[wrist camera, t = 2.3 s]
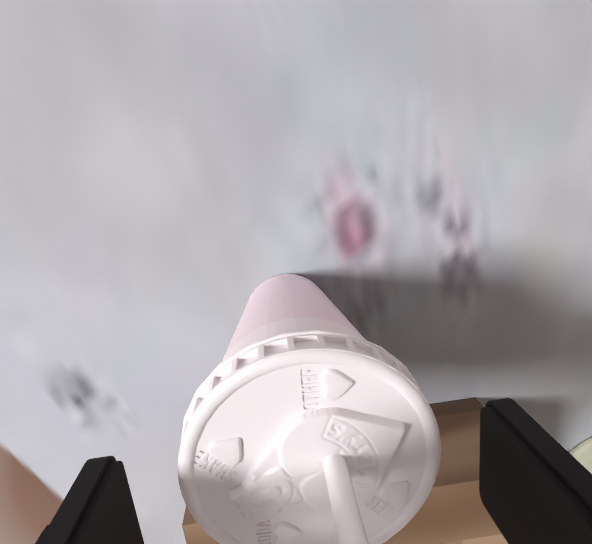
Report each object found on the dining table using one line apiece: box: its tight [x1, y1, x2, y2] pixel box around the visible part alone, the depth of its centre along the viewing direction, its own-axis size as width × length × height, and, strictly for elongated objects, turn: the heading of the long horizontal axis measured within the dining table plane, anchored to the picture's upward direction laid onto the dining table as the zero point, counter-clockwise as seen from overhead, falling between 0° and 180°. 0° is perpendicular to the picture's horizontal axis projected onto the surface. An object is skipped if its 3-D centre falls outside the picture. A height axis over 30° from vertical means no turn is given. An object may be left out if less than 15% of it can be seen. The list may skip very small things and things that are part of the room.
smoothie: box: [178, 274, 441, 544], centre depth 12 cm, size 6×6×14 cm
